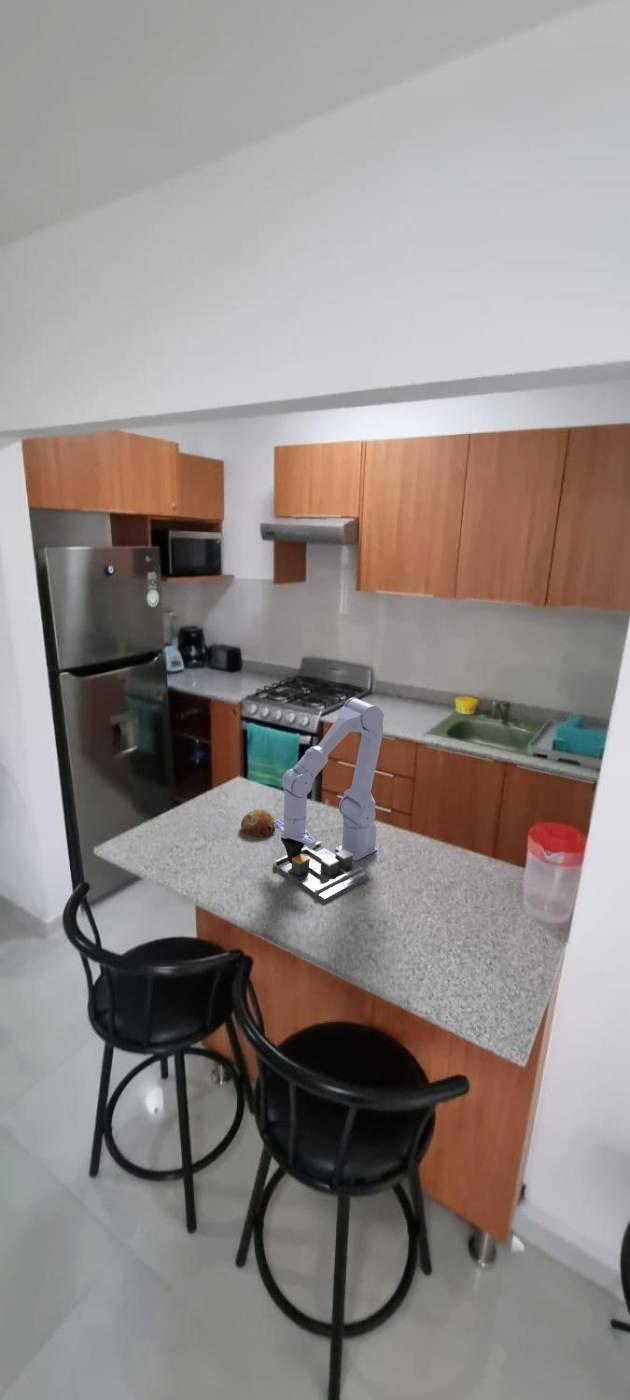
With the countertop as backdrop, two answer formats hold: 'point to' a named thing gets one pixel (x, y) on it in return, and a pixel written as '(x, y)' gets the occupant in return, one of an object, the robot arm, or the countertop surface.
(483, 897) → the countertop surface
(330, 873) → the block
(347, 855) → the block
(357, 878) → the panel
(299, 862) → the block
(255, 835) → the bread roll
